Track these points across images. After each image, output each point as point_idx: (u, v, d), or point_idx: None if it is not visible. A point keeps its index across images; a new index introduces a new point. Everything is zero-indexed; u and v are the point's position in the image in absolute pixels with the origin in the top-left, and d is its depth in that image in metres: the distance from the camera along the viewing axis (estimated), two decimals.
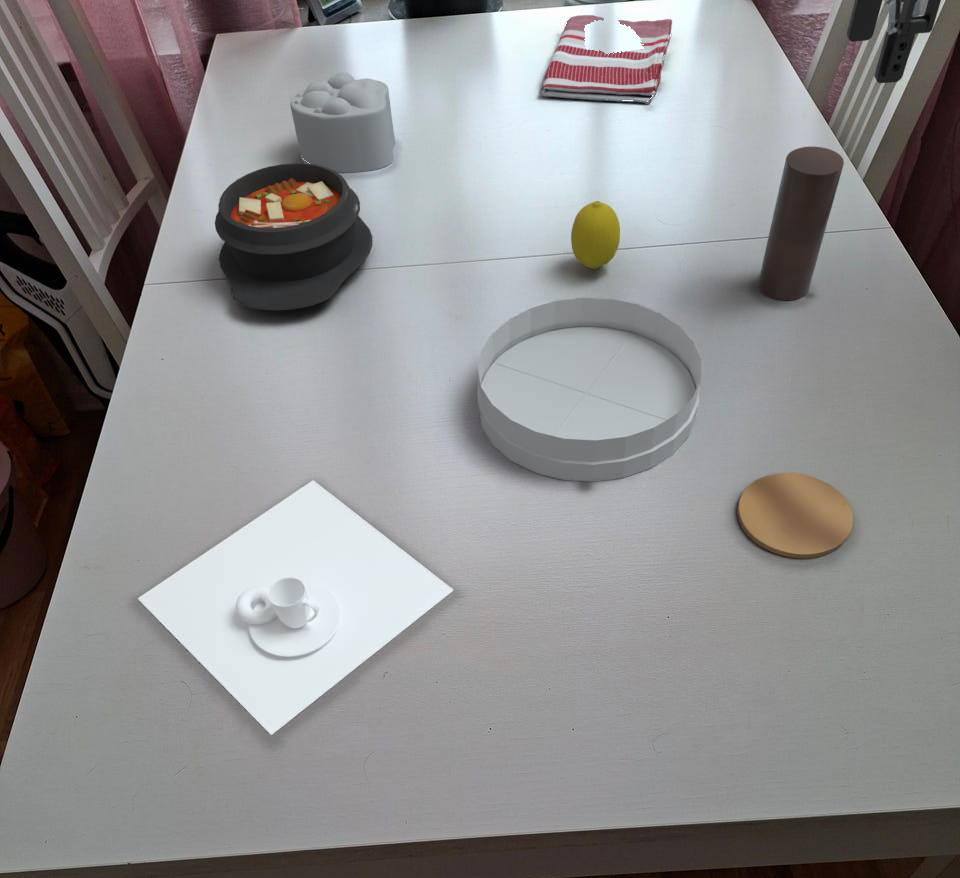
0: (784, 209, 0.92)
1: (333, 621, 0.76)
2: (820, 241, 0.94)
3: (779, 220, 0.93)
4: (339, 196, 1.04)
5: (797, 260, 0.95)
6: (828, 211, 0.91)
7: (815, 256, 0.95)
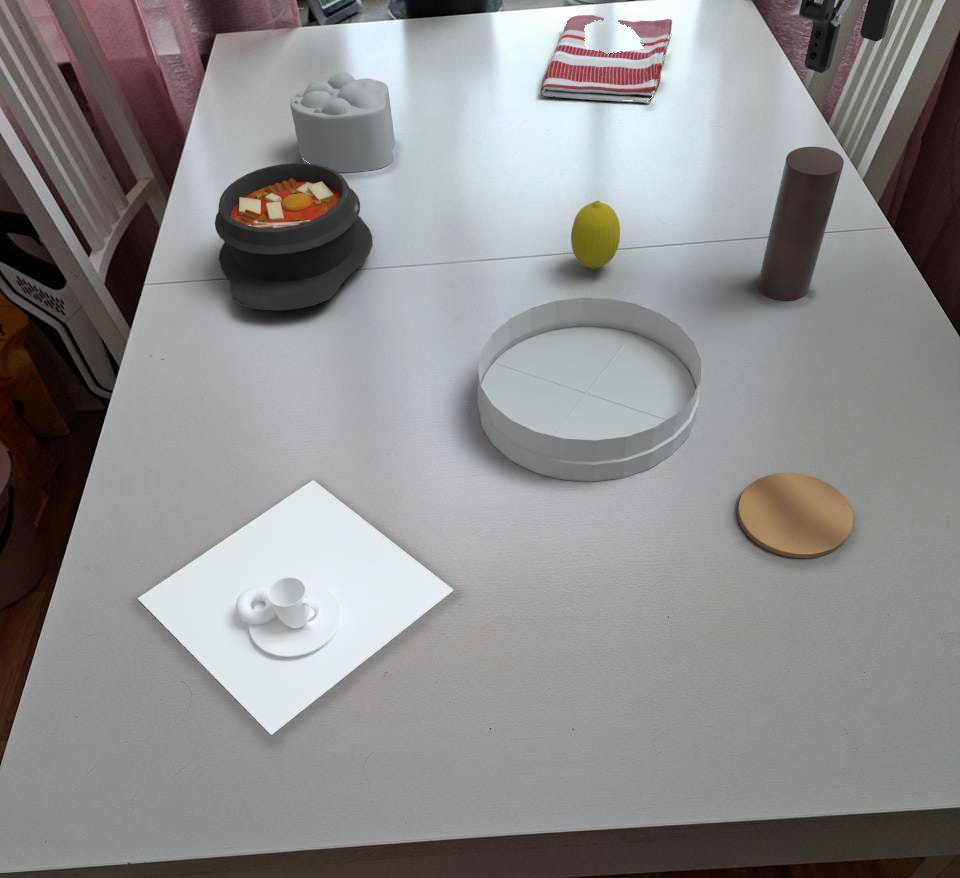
0: (784, 209, 0.92)
1: (333, 620, 0.76)
2: (820, 241, 0.94)
3: (779, 220, 0.93)
4: (339, 196, 1.04)
5: (797, 260, 0.95)
6: (828, 211, 0.91)
7: (815, 256, 0.95)
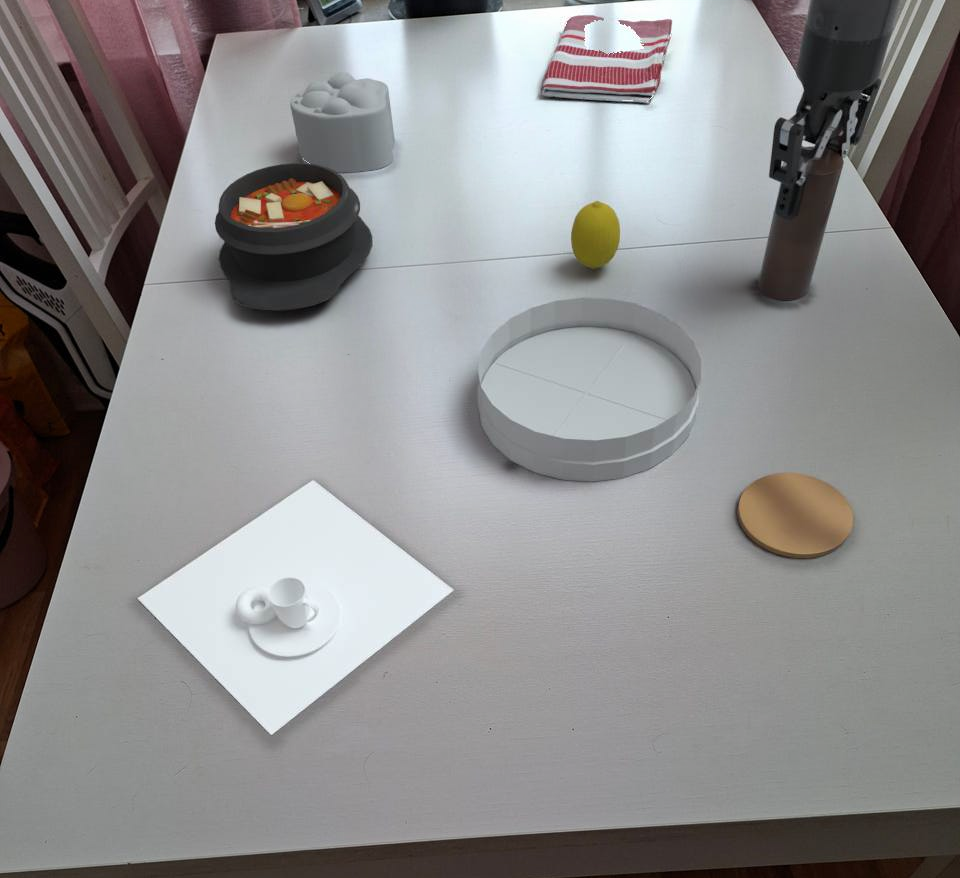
0: None
1: (333, 620, 0.76)
2: (820, 241, 0.94)
3: (779, 220, 0.93)
4: (339, 196, 1.04)
5: (797, 260, 0.95)
6: (828, 211, 0.91)
7: (815, 256, 0.95)
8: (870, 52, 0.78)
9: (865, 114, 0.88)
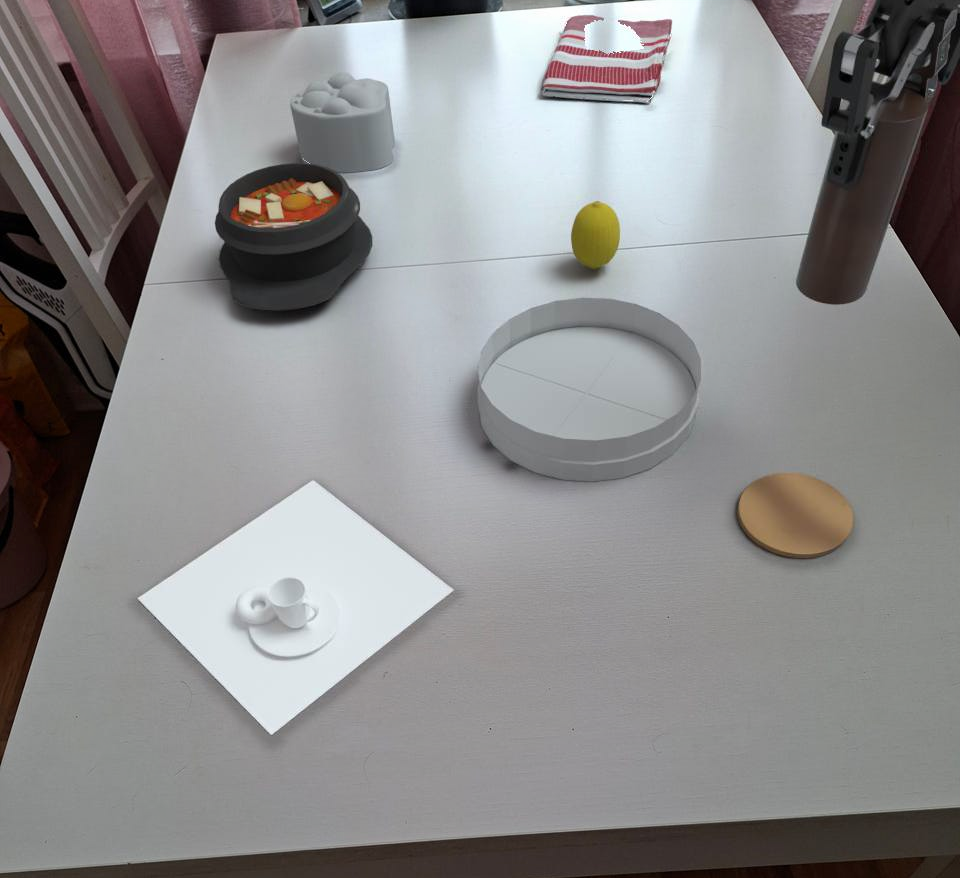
0: None
1: (333, 620, 0.76)
2: (887, 222, 0.67)
3: (830, 190, 0.66)
4: (339, 196, 1.04)
5: (854, 248, 0.67)
6: (902, 178, 0.64)
7: (879, 243, 0.68)
8: None
9: None
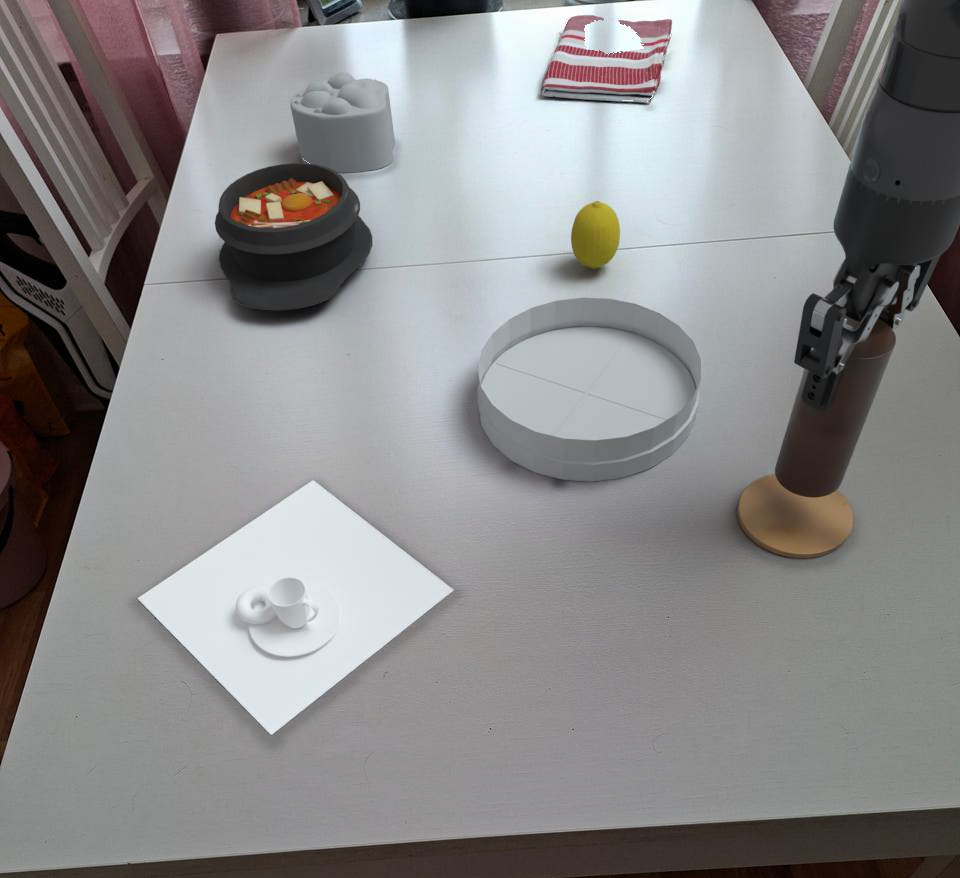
0: None
1: (333, 620, 0.76)
2: (860, 431, 0.70)
3: (805, 405, 0.69)
4: (339, 196, 1.04)
5: (828, 454, 0.70)
6: (872, 398, 0.67)
7: (853, 447, 0.71)
8: (945, 214, 0.54)
9: (926, 274, 0.64)
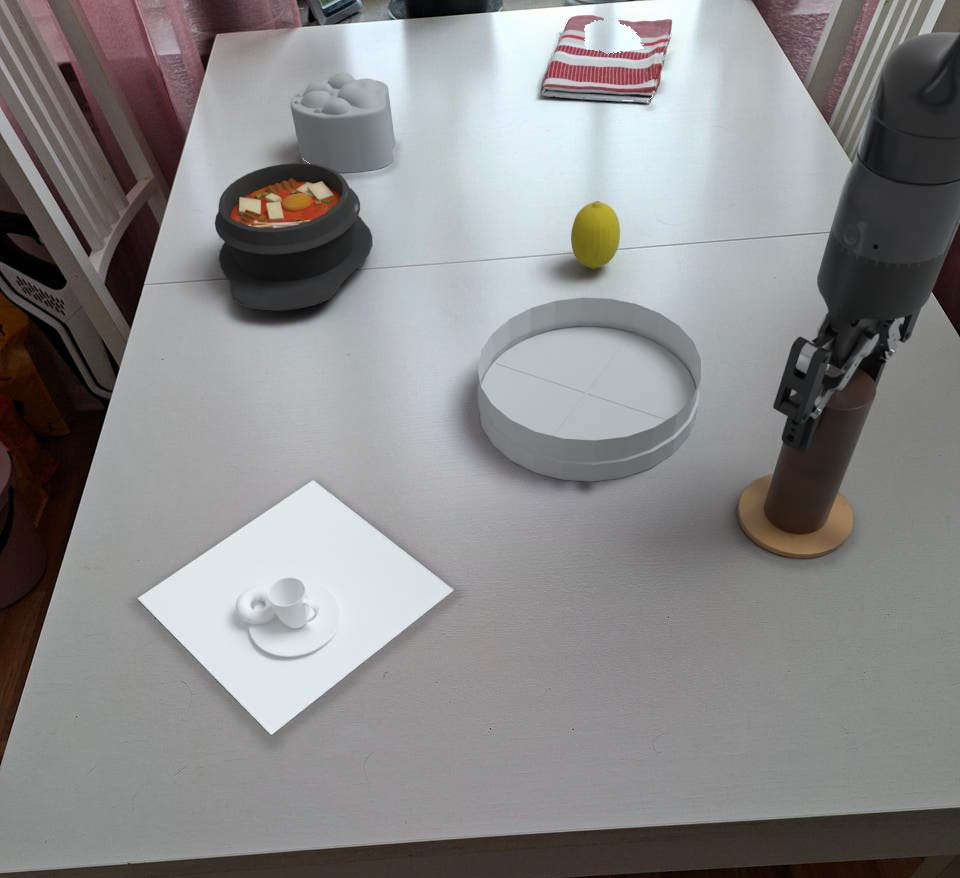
0: None
1: (333, 620, 0.76)
2: (844, 473, 0.74)
3: (791, 450, 0.72)
4: (339, 196, 1.04)
5: (814, 495, 0.74)
6: (855, 443, 0.71)
7: (837, 488, 0.75)
8: (921, 275, 0.57)
9: (914, 312, 0.67)
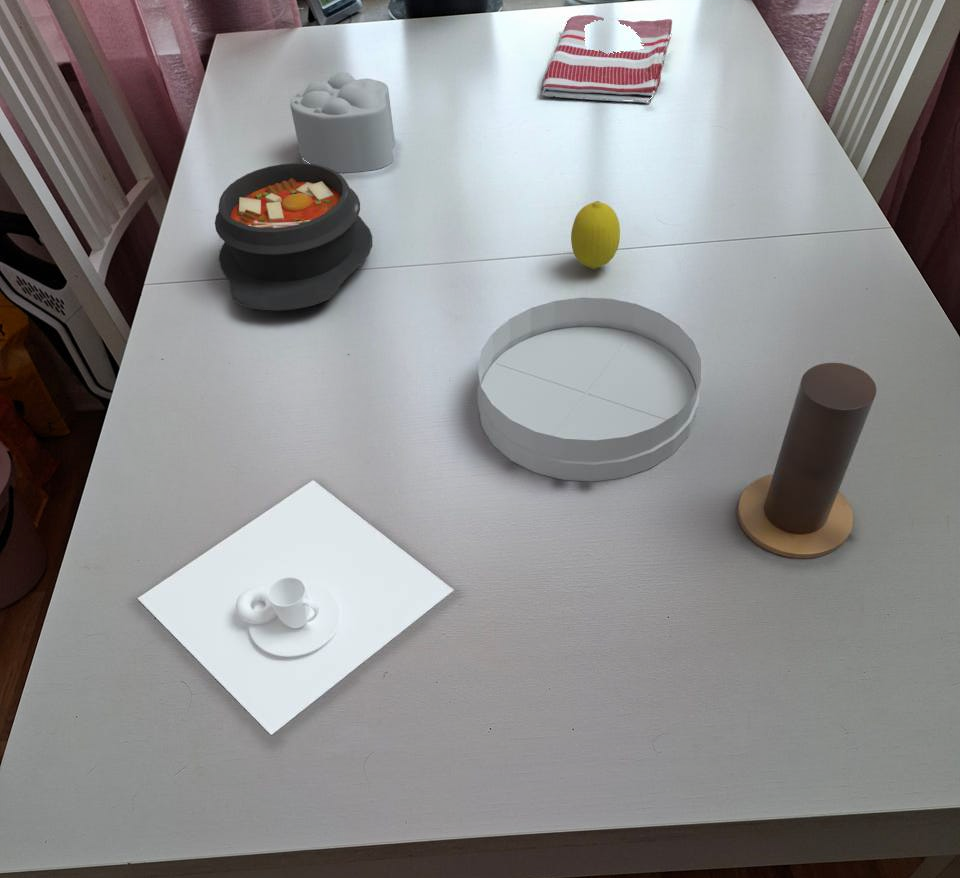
0: (798, 440, 0.71)
1: (333, 620, 0.76)
2: (844, 473, 0.74)
3: (791, 450, 0.72)
4: (339, 196, 1.04)
5: (814, 495, 0.74)
6: (855, 443, 0.71)
7: (837, 488, 0.75)
8: None
9: None
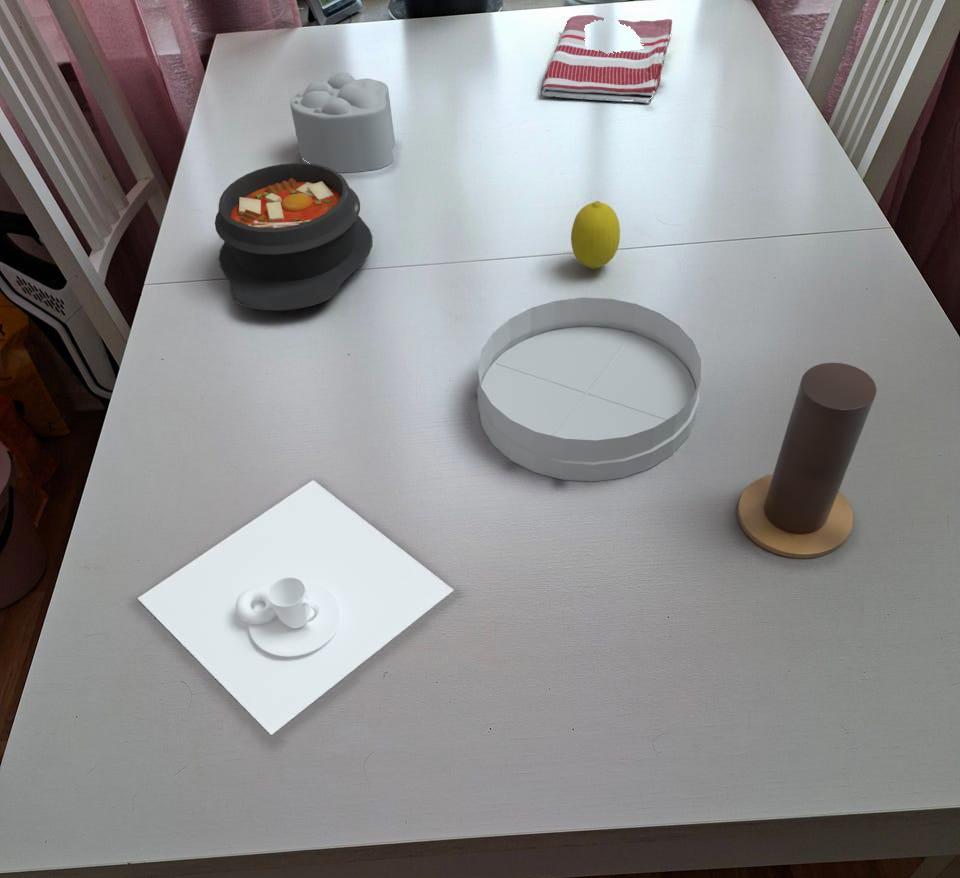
0: (798, 440, 0.71)
1: (333, 620, 0.76)
2: (844, 473, 0.74)
3: (791, 450, 0.72)
4: (339, 196, 1.04)
5: (814, 495, 0.74)
6: (855, 443, 0.71)
7: (837, 488, 0.75)
8: None
9: None
